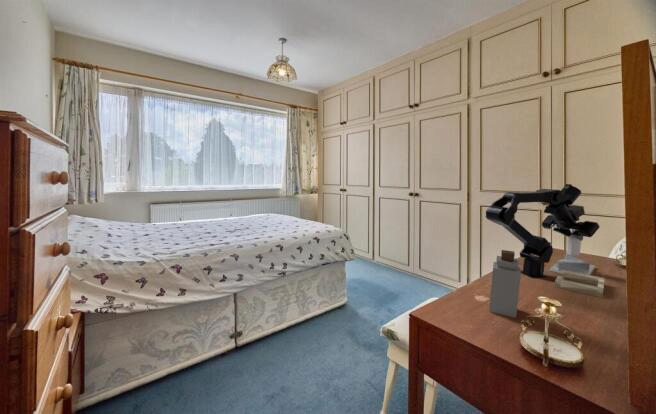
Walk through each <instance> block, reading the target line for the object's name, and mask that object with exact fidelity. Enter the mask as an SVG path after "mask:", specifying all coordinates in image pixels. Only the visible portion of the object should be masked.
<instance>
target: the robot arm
mask: <svg viewBox="0 0 656 414" xmlns="http://www.w3.org/2000/svg"><path fill="white" fill-rule="evenodd" d="M581 195H582V190H581V189H579V188H578V187H576V186H574V185H572V184H571V183H566V184H565V185H563V187H562V189H552V188H551V189H550V188H541V189H537V190H536V191H531V192H530V191H524V192H523V191H522V192H512V191H508V192H505V193H504V194H503V196H501V197H499V198H497V200H495V201H493V202H492V203H491V204H490V206H489V207H488V208H487V209H486V211H485V218H486V219H487V220H488V221H490V222H492V223H494V224H497V225H499V226H501V227H503V228H504V229H506V230H507V232H509V233H510V234H511V235H512V236H514V237H515V238H516V239H517V240H518V241H520V242H521V243H522V244H523V248H522V249H521V250H520V251H519V257H520V258H523V264H522V265H523V268H522V270H520V271H521V274H523V275H525V276H527V277H530V278H546V277H547V275H546V274H544V271H545V264H547V263H550V260H551V258H552V255H553V252H554V250H553V246H552V242H549V241H548V239H547V238H546V237H542V236H538V235H534V234H532V233H531V232H530V231H528V229H526V227H524V226H523V225H522V224H521V223H520V222H518V221H517V220H516V218H515V217H516V214H517V211H518V208H519V207H518V206H519V205H520V204H521V203H522V204H526V203H541V204H547V205H546V206H545V207H544V208H545V209H544V210H543V213H544V214H547V216H546V217H545V219H544V220H542V222H541V226H542V227H543V229H547V230H551V229H552V228H553V229H552V231H554V232H557V233H559V234H561V235H563V236H566V237H569V236H570V235H574V236H575V237H576V238H578V239H579V240H581V242H582V241H583V240H584V237H585V238H592V237H593V236H594V235H595V233H596V232H597V231H598V230H599V229H600V225H599V223H598V222H597V221H589V220H585V221H580V217H581V216H584V215H585V214H586V211H585V208H584V206H583V205H575V204H574V203H575V202H576V201H577V200H578V198H580V196H581ZM508 204H510V205H509V207H504V206H506V205H508ZM573 204H574V205H573ZM548 214H549V215H548ZM572 229H573V230H575V231H574V232H573V233H572Z"/></svg>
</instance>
